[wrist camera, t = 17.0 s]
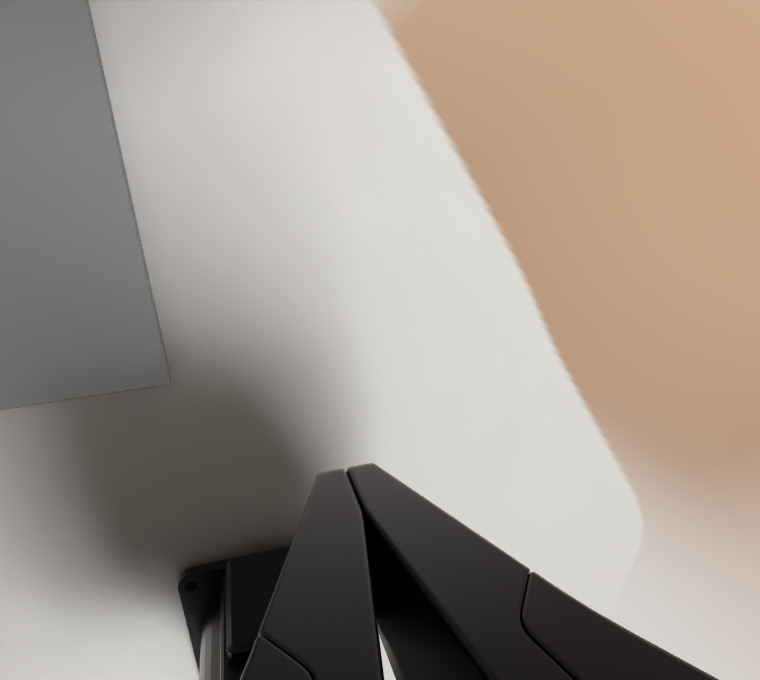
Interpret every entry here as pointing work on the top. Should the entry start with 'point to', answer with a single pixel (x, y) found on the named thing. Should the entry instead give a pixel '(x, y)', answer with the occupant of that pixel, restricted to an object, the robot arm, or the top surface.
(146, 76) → the top surface
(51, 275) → the mat
